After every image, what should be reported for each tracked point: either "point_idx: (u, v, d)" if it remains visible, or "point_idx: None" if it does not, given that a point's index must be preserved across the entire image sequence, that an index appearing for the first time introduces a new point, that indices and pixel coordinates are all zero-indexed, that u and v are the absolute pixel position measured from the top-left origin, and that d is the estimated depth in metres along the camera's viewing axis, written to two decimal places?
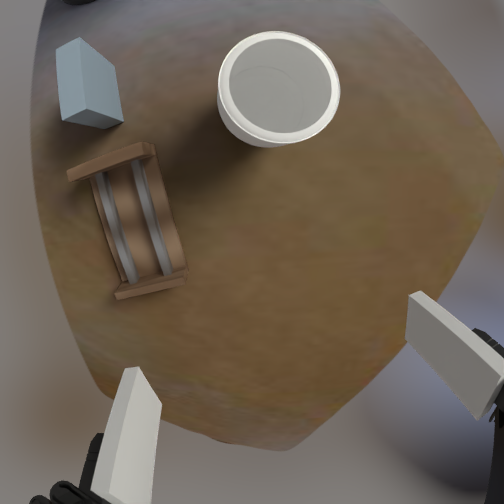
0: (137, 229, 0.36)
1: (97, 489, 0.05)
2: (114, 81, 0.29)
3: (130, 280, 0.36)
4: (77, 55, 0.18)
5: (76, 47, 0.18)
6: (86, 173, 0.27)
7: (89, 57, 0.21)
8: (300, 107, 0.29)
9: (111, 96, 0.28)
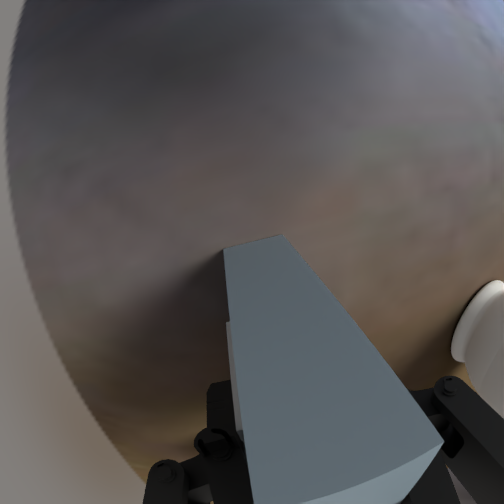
0: None
1: None
2: None
3: None
4: (398, 495, 0.04)
5: (406, 481, 0.03)
6: None
7: None
8: None
9: None
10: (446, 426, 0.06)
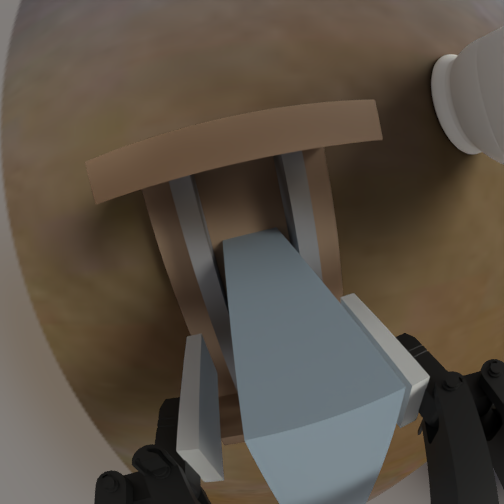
0: None
1: (184, 448, 0.07)
2: None
3: None
4: (376, 451, 0.05)
5: (379, 431, 0.04)
6: (168, 174, 0.08)
7: None
8: None
9: None
10: (487, 409, 0.06)
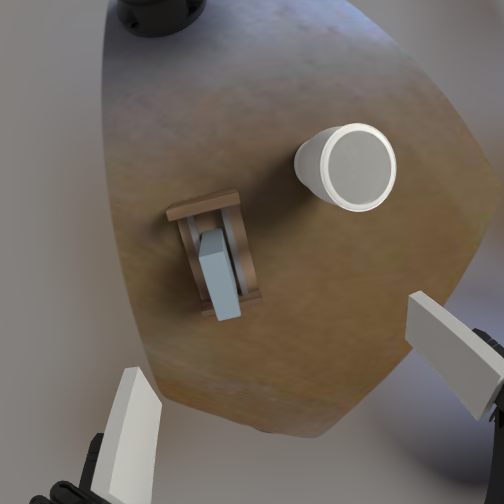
0: None
1: (97, 489, 0.05)
2: (226, 247, 0.44)
3: None
4: (225, 270, 0.34)
5: (222, 262, 0.33)
6: (186, 215, 0.37)
7: (226, 258, 0.36)
8: (356, 166, 0.39)
9: (231, 268, 0.43)
10: None
